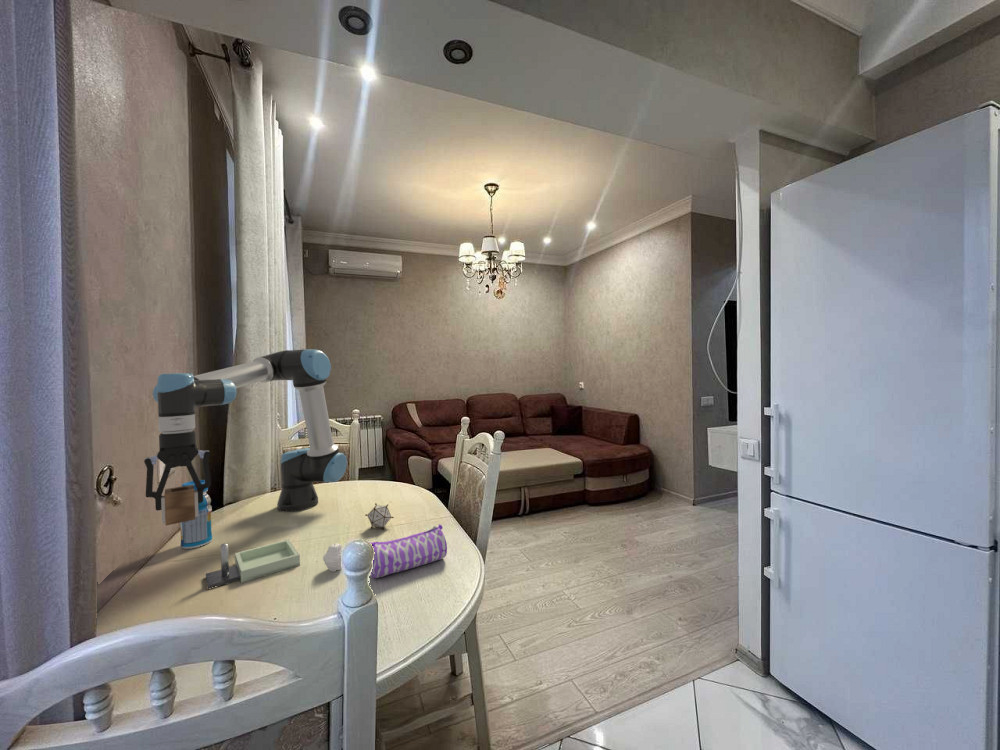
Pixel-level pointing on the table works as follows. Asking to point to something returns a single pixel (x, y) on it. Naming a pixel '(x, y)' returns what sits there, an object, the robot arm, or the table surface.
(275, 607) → the table surface
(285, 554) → the tray
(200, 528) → the beverage bottle
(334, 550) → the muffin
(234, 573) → the pin
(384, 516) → the game die
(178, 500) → the bore block
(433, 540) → the pencil case
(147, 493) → the robot arm
